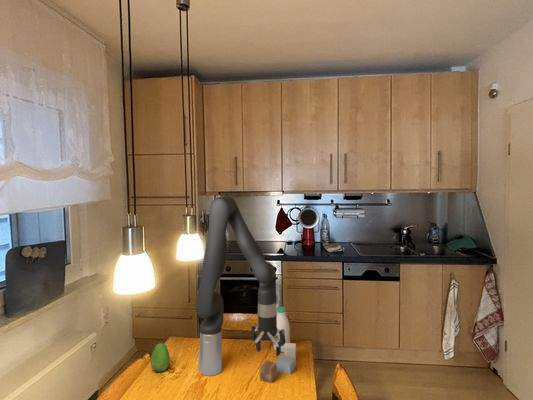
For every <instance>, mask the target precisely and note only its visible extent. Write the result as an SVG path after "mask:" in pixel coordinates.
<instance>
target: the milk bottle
mask: <svg viewBox="0 0 533 400" xmlns="http://www.w3.org/2000/svg"><path fill="white" fill-rule="evenodd" d="M276 311H277V329H278V330H282V329H284V331H285V343H291V339H290V338H291V337H290V336H291V334H290V333H291V332H290V331H291V329H290V322H289V319H288V317H287V308H286V307H285V306H276ZM277 336H278V337H279V340H280V336H279V335H278V333H277ZM274 338H275V337H274ZM284 345H285V344H284ZM284 345H283V346H281V353H284ZM273 350H274V351H276V345H275V343H274V342H273Z"/></svg>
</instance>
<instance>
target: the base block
mask: <svg viewBox="0 0 533 400" xmlns="http://www.w3.org/2000/svg"><path fill="white" fill-rule="evenodd" d="M278 356H279V357H277V358H276V360H275V361H274V363H276V372H279V373H284V374H288V375H291V374H292V373H293V371H294V370H295V368H297V357H296V358H295V357H291V356H286V355H284V354H279V355H278Z"/></svg>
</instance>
